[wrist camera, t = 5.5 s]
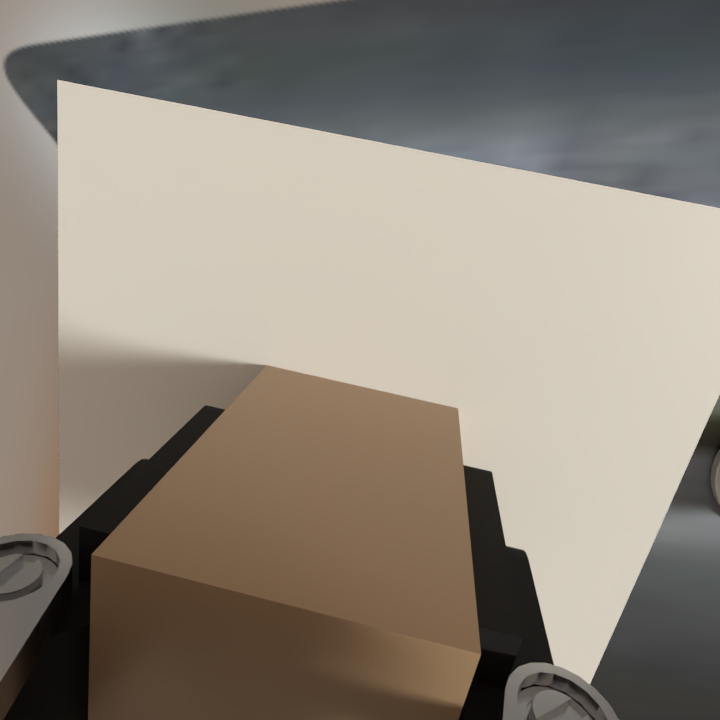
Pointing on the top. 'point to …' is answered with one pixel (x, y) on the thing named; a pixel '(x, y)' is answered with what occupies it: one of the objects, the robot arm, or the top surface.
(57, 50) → the top surface
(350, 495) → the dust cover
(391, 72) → the top surface
